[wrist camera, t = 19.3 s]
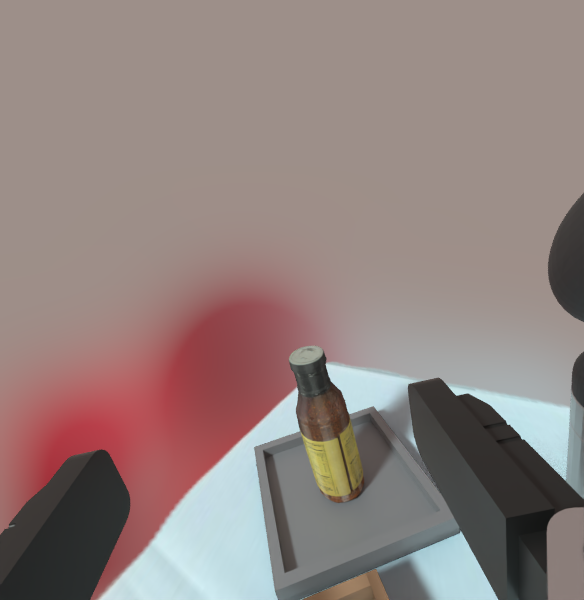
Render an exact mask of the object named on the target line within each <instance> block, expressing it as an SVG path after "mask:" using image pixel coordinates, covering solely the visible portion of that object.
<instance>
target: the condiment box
mask: <svg viewBox="0 0 584 600" xmlns="http://www.w3.org/2000/svg"><path fill="white" fill-rule="evenodd" d="M302 600H389V598H388V596H387V593H386V591H385V589H384V586H383V584H382V582H381V579H380V577H379V575H378V572H377V570H376V569H374V570H372V571H369V572H367V573H365V574H362V575H360V576H357V577H355V578H353V579H350V580H348V581H345V582H343V583H341V584H338V585H336V586H333V587H331V588H329V589H326V590H324V591H321V592H319V593H317V594H314V595H312V596H309V597H307V598H305V599H302Z"/></svg>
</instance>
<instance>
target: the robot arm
mask: <svg viewBox="0 0 584 600" xmlns="http://www.w3.org/2000/svg"><path fill="white" fill-rule="evenodd" d="M548 276H549V282H550V285H551V289H552V291H553V294H554V295H555V297H556V299H557V301H558V302H559V304H560V305H561V306H562V307H563V308H564V309H565V310H566V311H567V312H568V313H570V314H571V315H572V316H573V317H575V318H577V319H579V320H581V321H583V322H584V193H583V194H582V195H581V197H580V198H579V199H578V200H577V201H576V203H575V204H574V205H573V206H572V208H571V209H570V210H569V212H568V213H567V214H566V216H565V218H564V220H563V221H562V223H561V224H560V226H559V228H558V230H557V233H556V235H555V237H554V240H553V243H552V247H551V251H550V255H549V262H548ZM408 394H409V402H410V410H411V418H412V425H413V433H414V438H415V441H416V445H417V448H418V450H419V453H420V455H421V457H422V459H423V461H424V463H425V465H426V467H427V469H428V470H429V472H430V474H431V476H432V478H433V480H434V482H435V483H436V485H437V487H438V489H439V491H440V493H441V494H442V496H443V498H444V500H445V502H446V504H447V505H448V507H449V509H450V511H451V513H452V515H453V517H454V518H455V520H456V522H457V524H458V526H459V528H460V529H461V531H462V533H463V535H464V537H465V539H466V541H467V542H468V544H469V546H470V548H471V550H472V552H473V553H474V555H475V557H476V559H477V561H478V563H479V565H480V566H481V568H482V570H483V572H484V574H485V576H486V577H487V579H488V581H489V583H490V585H491V587H492V588H493V590H494V592H495V594H496V596H497V598H498V600H584V352H583V353H581V355H580V356H579V357H578V358H577V359H576V361H575V363H574V367H573V372H572V387H571V403H570V422H569V439H568V455H567V472H566V481H565V480H564V479H563V478H562V477H561V476H560V475H559V474H558V473H557V472H556V471H555V470H554V469H553V468H552V467H551V466H550V465H549V464H548V463H547V462H546V461H545V460H544V459H543V458H542V457H541V456H540V455H539V454H538V453H537V452H536V451H535V450H534V449H533V448H532V447H531V446H530V445H529V444H528V443H527V442H526V441H525V440H522V439H521V437H520V435H519V434H518V433H517V432H516V431H515V430H514V429H513V428H512V427H511V426H510V425H507V423H506V421H505V420H504V419H503V418H502V417H501V416H500V415H499V414H498V413H497V412H496V411H495V410H494V409H493V408H492V407H491V406H490V405H489V404H487V403H485V402H483V401H481V400H479V399H477V398H475V397H473V396H472V395H470V394H463V395H459V396H456V395H455V394H454V393H453V392H452V391H451V390H450V388H449V387H448V386H447V385H446V384H445V383H444V382H443V380H441V379H440V378H435V379H430V380H425V381H421V382H416V383H412V384H409V385H408ZM129 511H130V496H129V492H128V490H127V488H126V486H125V484H124V482H123V480H122V478H121V476H120V474H119V472H118V470H117V468H116V466H115V464H114V463H113V460H112V459H111V457H110V455H109V453H108V452H107V451H105V450H97V451H92V452H88V453H83V454H78V455H74V456H71V457H69V458H68V459H67V460H66V461H65V462H64V463H63V465H62V466H61V467H60V469H59V470H58V471H57V472H56V474H55V475H54V476H53V478H52V479H51V480H50V481H49V483H48V484H47V485H46V486H45V487H43V488H42V489H41V490H40V491H39V492H38V493H37V494H36V495H34V496H33V497H32V498H31V499H30V500H29V501H28V502H27V503H26V504H25V505H24V506H23V508H22V509H21V510H20V511H19V513H18V514H17V515H16V516H15V518H14V519H13V520H12V521H11V522H10V524H9V528H8V529H5V530H4V531H3V532H2V534H1V535H0V600H90V599H91V596H92V594H93V592H94V590H95V588H96V586H97V584H98V582H99V579H100V577H101V575H102V573H103V571H104V568H105V566H106V564H107V562H108V560H109V557H110V555H111V553H112V551H113V549H114V547H115V545H116V543H117V540H118V538H119V536H120V534H121V532H122V529H123V527H124V525H125V523H126V520H127V518H128V515H129Z"/></svg>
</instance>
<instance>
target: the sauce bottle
mask: <svg viewBox="0 0 584 600" xmlns="http://www.w3.org/2000/svg"><path fill="white" fill-rule="evenodd" d="M289 362H290V367H291V370H292V371H293V372H294V374H295V378H296V381H297V388H298V391H299V392H298V402H297V407H296V414H297V419H298V424H299V428H300V431H301V435H302V438H303V441H304V445H305V448H306V451H307V454H308V457H309V461H310V464H311V467H312V470H313V473H314V476H315V479H316V482H317V485H318V487H319V488H320V491H321V493H322V494H323V495H324V496H325V497H326V498H327V499H329V500H331V501H333V502H336V503H343V502H347V501H350V500H353V499H355V498H356V497H357V496H358V495H359V494H360V492H361V490H362V488H363V485H364V477H363V468H362V464H361V460H360V456H359V452H358V448H357V444H356V440H355V436H354V432H353V428H352V424H351V419H350V415H349V413H348V411H347V407H346V403H345V400H344V398H343V395H342V392H341V391H340V390H339V389H338V388H337V387H336V386H335V385H334V384H333V383H332V382H331V381H330V378H329V376H328V372H327V369H326V365H325V364H326V357H325V354H324V351H323V349H322V348H321V347H318V346H307V347H302V348H299V349H297V350H295V351H294V352H293V353H292V354H291V355H290V357H289Z"/></svg>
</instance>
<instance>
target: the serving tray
mask: <svg viewBox="0 0 584 600" xmlns="http://www.w3.org/2000/svg"><path fill="white" fill-rule="evenodd" d="M349 415H350V419H351V424H352V428H353V432H354V436H355V440H356V444H357V448H358V452H359V456H360V460H361V464H362V468H363V477H364V485H363V488H362V490H361V492H360V494H359V495H358V496H357V497H356V498H355V499H353V500H350V501H347V502H343V503H336V502H333V501H331V500H329V499H327V498H326V497H325V496H324V495H323V494H322V493H321V491H320V488H319V487H318V485H317V482H316V479H315V476H314V473H313V470H312V467H311V464H310V461H309V457H308V454H307V451H306V448H305V445H304V441H303V438H302V435H301V431H300V432H297V433H294V434H291V435H288V436H285V437H282V438H280V439H277V440H274V441H271V442H268V443H265V444H262V445H259V446H256V447H254V449H255V456H256V463H257V470H258V477H259V484H260V491H261V498H262V504H263V511H264V518H265V525H266V532H267V539H268V546H269V553H270V560H271V567H272V573H273V580H274V587H275V592H276V595H277V598H278V600H300V599H302V598H305V597H307V596H310V595H312V594H314V593H317V592H319V591H322V590H324V589H326V588H329V587H331V586H334V585H336V584H338V583H341V582H343V581H346V580H348V579H350V578H353V577H355V576H358V575H360V574H362V573H365V572H367V571H370V570H372V569H374V568H377V567H379V566H382V565H384V564H386V563H389V562H391V561H394V560H396V559H398V558H401V557H403V556H406V555H408V554H410V553H413V552H415V551H418V550H420V549H422V548H425V547H427V546H430V545H432V544H434V543H437V542H439V541H442V540H444V539H446V538H449V537H451V536H454V535H456V534H458V533H460V531H459V526H458V524H457V522H456V520H455V518H454V517H453V515H452V513H451V511H450V509H449V507H448V505H447V504H446V502H445V500H444V498H443V496H442V495H441V493H440V492H439V491H438V489H437V488H436V487H435V486H434V484H433V483H432V482H431V480H430V479H429V478H428V476H427V475H426V474H425V473H424V471H423V470H422V469H421V467H420V466H419V465H418V463H417V462H416V461H415V460H414V458H413V457H412V456H411V454H410V453H409V452H408V451H407V449H406V448H405V447H404V445H403V444H402V443H401V441H400V440H399V439H398V438H397V436H396V435H395V434H394V432H393V431H392V430H391V428H390V427H389V426H388V425H387V423H386V422H385V421H384V419H383V418H382V417H381V416H380V414H379V413H378V412H377V410H376V409H375V408H374V406H373V407H370V408H367V409H364V410H361V411H358V412H355V413H352V414H349Z"/></svg>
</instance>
